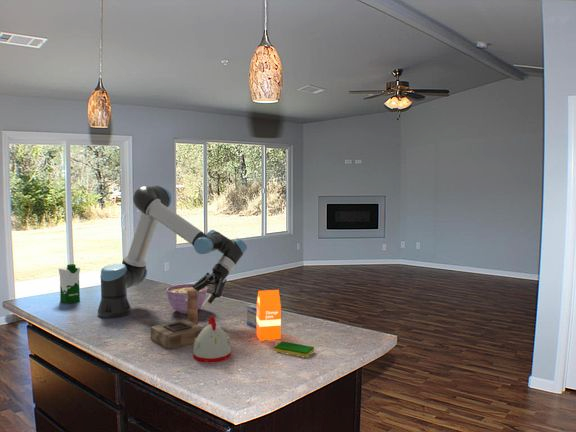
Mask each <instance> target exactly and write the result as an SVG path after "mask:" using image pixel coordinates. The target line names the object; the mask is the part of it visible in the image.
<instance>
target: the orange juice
mask: <svg viewBox="0 0 576 432" xmlns="http://www.w3.org/2000/svg"><path fill="white" fill-rule="evenodd" d="M256 305H257V319H256V321H257V328H256V337H257V338H259V339H258V340H259V341H260V342H264V340H268V341H276V340H275V339H281V338H282V337H281V334H282V333H281V329H282V328H281V327H282V326H281V325H282V317H281V316H282V314H281V313H282V312H281V311H282V305H281V297H280V289H268V290H258V293H257V298H256Z"/></svg>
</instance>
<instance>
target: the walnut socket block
mask: <svg viewBox="0 0 576 432" xmlns="http://www.w3.org/2000/svg"><path fill="white" fill-rule="evenodd" d="M204 328H205V327H203V326H201V325H200V324H199V325H197V324H194V323H192V322H190V321H188V319H181V320H176V321H172V322H167V323H162V324H157V325H154V326H150V340H153V341H154V342H156V343H157V344H159V345H160V346H163V347H164V348H166V349H168V350H173V349H177V348H181V347H185V346H187V345H191V344H192V345H194V342H195V338H197V337H198V335H199V334H200V332H201V331H202V330H203V329H204Z"/></svg>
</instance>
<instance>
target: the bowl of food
mask: <svg viewBox="0 0 576 432" xmlns="http://www.w3.org/2000/svg"><path fill="white" fill-rule="evenodd" d="M194 284H195V283H183V284H182V283H181V284H175V285H172V286H171V285H170V286H169V287H166V295H167V297H168V302H169V305H170V307H171V308H172V310H174V311H176V312H178V313H180V314H184V315H185V314H188V312H187V301H186V299H187V291H188V290H193V289H194V288H193V287H192V286H193V285H194ZM207 293H208V286H206V287H204V288H203V289H201V290H199V293H198V294H197V307H198V310H200V309H201V308H203V307H202V305H203V304H204V302H205V301H206V298H207V297H206V295H207Z"/></svg>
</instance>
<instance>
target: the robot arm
mask: <svg viewBox="0 0 576 432" xmlns="http://www.w3.org/2000/svg"><path fill="white" fill-rule="evenodd" d="M132 200H133V204H134V207H136V209H137V210H139V212H141V214H140V216H139V220H138V222H137V225H136V229H135V232H134V234H133V238H132V242H131V245H130V247H129V250H128V254H127V255H126V256H124V257H123V259H122V262H121V263H113V264H108V265H105V266H104V267H102V268H101V270H100V276H99V277H100V292H101V294H100V296H101V297H100V302H99V305H98V309H97V316H98V317H100V318H105V319H110V318H121V317H125V316H128V315H130V314H131V313H132V307H131V305H130V301H129V300H128V293H127V292H128V289H129V288H131V287H135V286H138V285H140V284H141V283H143V282H145V280H146V277H147V276H148V269H147V262H146V257H147V254H148V250H149V248H150V244H151V241H152V240H153V236H154V232H155V229H156V226H157V224H158V222H159V223H160V224H162V225H163V226H165V227H166V228H168V229H169V230H170V231H172V232H174V234H176V235H178V236H179V237H181V238H182V239H183V240H185V241H186V242H187V243H189V244H190V245H192V246H193V249H194V250H195V252H196V253H197V254H199V255H206V254H210V253H213V252H215V251H217V252H219V253H221V254H222V255H221V257H220V258H219V259H218V261H217V263H216V264H214V266H213V267H212V269H211V270H212V272H211V273H209V272H206V274H205V275H203V276H202V277H200V279H198V281H196V282H195V283H193V284H194V285H193V286H192V287H193V288H194V289H193V290H197V294H198V293H199V290H201V289H203V288H204V287H208V286H211V285H212V292H211V293H210V294H209V296H208V297H206V298H205V301H204V304H203V305H202V307H201V308H203V309H204V310H206V311H207V310H208V308H209V307H210V306H211V304H212V303H213V302H214V301H215V299H217V298H221V295H222V293H223V290H224V288H225V284H226V283H227V281H228V280H227V277H228V276H229V275H230V272H232V270H233V269H234V267H235V266H236V264H237V263H238V262H239V260H241V258H242V257H243V255H244V254H245V252H246V251H247V248H248V246H247V244H246V242H244V241H243V240H242V239H240V238H234V240H232V239H230V238H228V237H226V236H225V235H224V234H222V233H220V232H219V231H217V230H215V229H210V230H209V231H208V232H207V233H205V232H203V231H202V230H200V229H199V228H198V227H197V226H195V225H194V224H192V223H190V222H189V221H188V220H186V219H185V218H184V217H182V216H180V215H179V214H178V213H176V212H175V211H173V210H172V209H170V208H169V206H171V203H172V195H171V193H170V191H169V189H167V188H166V187H165V186H162V185H152V186H151V185H150V186H149V185H144V186H140V187H138V188H137V189H136V190H135V192H134V193H133V196H132ZM186 301H187V299H186Z"/></svg>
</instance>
